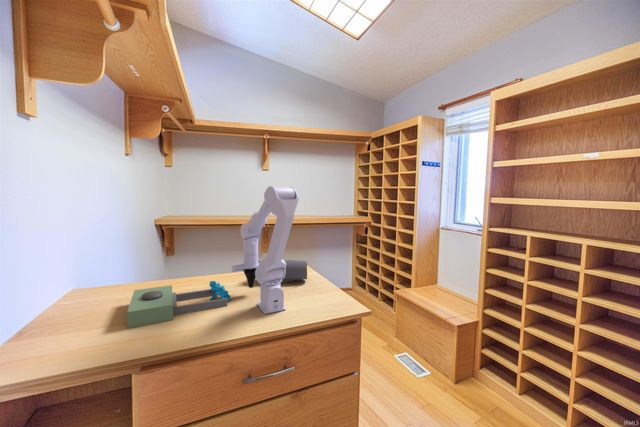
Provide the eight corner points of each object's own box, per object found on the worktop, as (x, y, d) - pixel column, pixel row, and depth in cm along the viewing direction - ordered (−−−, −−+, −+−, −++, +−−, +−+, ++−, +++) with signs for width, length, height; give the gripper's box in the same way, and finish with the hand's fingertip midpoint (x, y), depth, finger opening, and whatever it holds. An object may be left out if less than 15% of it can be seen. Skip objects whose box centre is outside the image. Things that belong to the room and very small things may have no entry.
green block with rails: (228, 309, 96) (228, 292, 95) (127, 328, 81) (126, 308, 81) (219, 290, 113) (219, 276, 112) (134, 303, 99) (134, 287, 98)
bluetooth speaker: (306, 278, 132) (307, 257, 131) (307, 284, 123) (307, 263, 122) (259, 277, 130) (259, 257, 130) (256, 284, 121) (256, 262, 120)
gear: (228, 301, 98) (208, 282, 98) (215, 313, 98) (196, 294, 97) (234, 294, 109) (217, 276, 109) (223, 305, 109) (206, 287, 108)
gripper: (265, 250, 115) (265, 281, 116) (229, 253, 108) (230, 286, 109) (270, 253, 109) (270, 286, 110) (233, 257, 102) (233, 292, 103)
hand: (250, 287), depth 109 cm, fingers closed
